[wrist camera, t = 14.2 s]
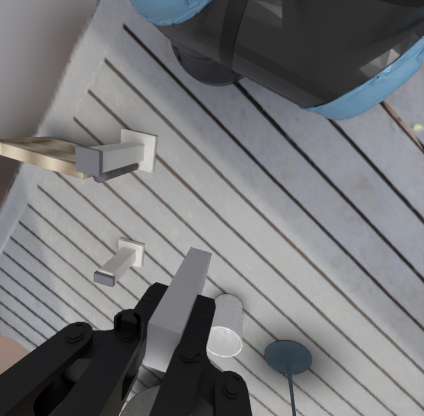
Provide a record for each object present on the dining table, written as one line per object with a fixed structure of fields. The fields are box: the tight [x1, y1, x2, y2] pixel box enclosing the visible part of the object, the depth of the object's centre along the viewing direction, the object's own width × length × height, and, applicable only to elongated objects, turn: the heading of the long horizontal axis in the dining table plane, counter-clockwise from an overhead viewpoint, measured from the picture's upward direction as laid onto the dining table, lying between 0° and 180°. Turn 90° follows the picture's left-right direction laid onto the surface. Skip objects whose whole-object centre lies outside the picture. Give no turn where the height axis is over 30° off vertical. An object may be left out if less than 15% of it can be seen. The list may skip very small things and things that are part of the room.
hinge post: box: [75, 129, 158, 177], centre depth 38 cm, size 7×7×15 cm
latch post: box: [94, 238, 145, 287], centre depth 49 cm, size 6×6×11 cm
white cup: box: [206, 294, 243, 357], centre depth 49 cm, size 8×8×10 cm
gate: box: [0, 137, 139, 183], centre depth 41 cm, size 20×2×11 cm, turn 77°
